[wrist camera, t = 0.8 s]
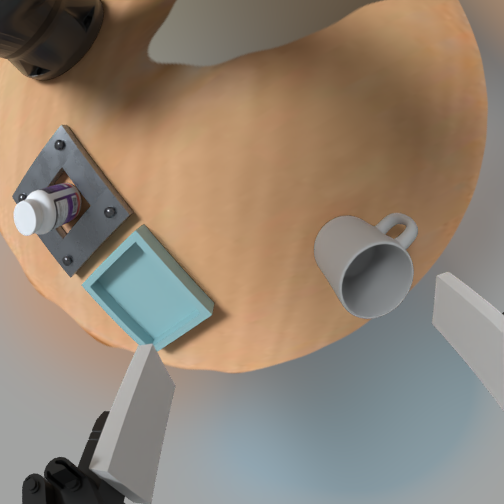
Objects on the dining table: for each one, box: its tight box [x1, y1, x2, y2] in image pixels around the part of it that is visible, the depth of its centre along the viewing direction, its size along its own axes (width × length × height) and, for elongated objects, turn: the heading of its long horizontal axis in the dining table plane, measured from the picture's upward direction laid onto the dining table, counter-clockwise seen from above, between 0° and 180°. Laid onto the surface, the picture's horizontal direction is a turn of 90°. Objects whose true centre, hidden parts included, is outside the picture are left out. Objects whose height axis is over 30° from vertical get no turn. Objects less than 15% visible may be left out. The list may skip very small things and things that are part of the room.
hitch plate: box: [12, 125, 134, 277], centre depth 32 cm, size 16×14×2 cm
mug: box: [314, 213, 418, 319], centre depth 31 cm, size 12×8×11 cm
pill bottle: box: [14, 183, 81, 236], centre depth 29 cm, size 5×5×10 cm
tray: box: [82, 224, 214, 351], centre depth 36 cm, size 14×12×3 cm
